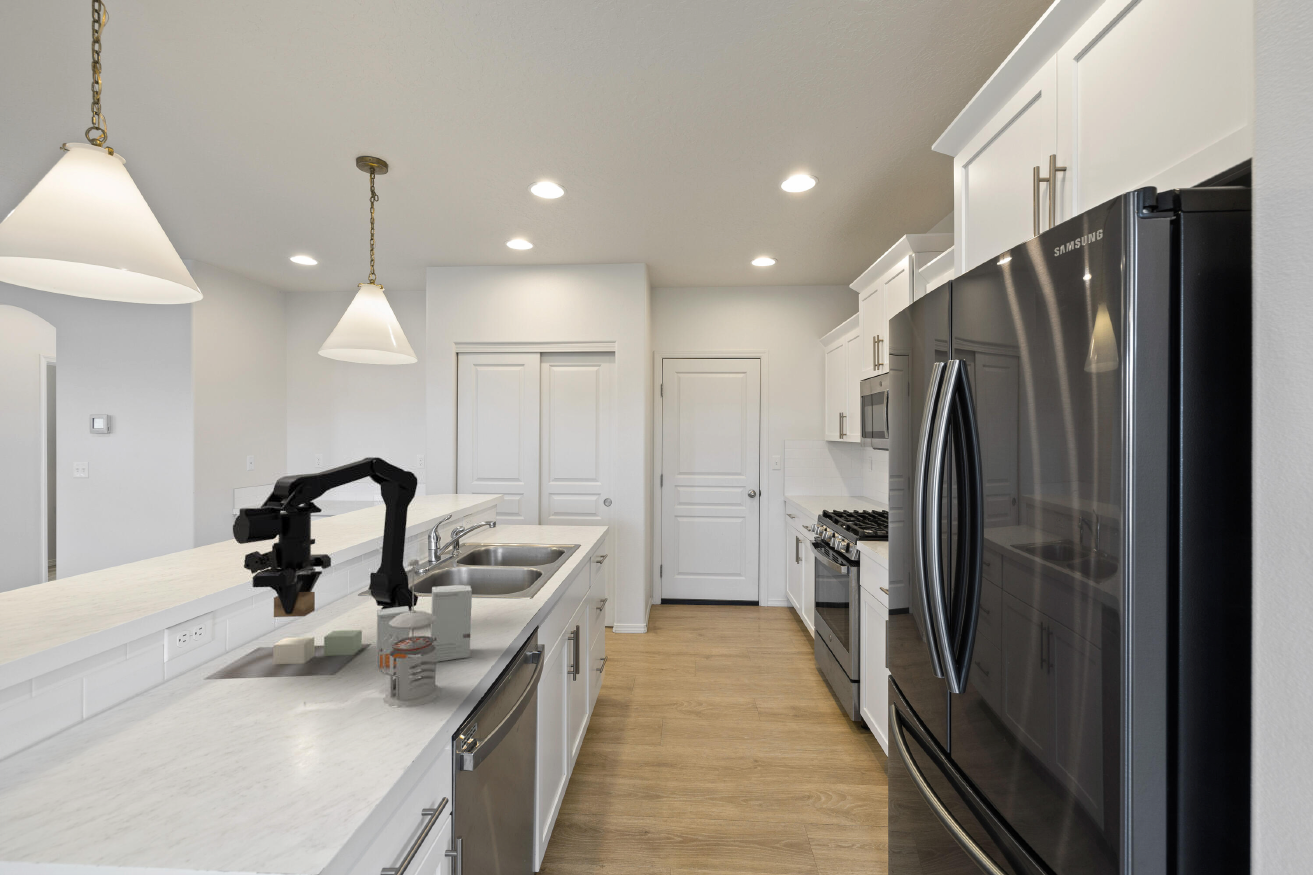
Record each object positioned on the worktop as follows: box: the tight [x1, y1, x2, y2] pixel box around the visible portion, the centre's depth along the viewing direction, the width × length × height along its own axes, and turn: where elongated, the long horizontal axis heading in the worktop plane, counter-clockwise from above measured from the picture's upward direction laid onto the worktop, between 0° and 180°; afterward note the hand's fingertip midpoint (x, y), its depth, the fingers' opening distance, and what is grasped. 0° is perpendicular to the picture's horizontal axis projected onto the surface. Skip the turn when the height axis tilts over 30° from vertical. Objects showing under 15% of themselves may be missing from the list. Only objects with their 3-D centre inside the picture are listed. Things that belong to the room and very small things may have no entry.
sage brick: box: [323, 629, 363, 656], centre depth 121 cm, size 6×4×4 cm, turn 95°
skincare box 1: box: [376, 606, 410, 669], centre depth 115 cm, size 6×4×12 cm
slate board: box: [204, 643, 372, 680], centre depth 117 cm, size 24×17×1 cm
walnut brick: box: [273, 591, 316, 618], centre depth 117 cm, size 6×4×4 cm, turn 95°
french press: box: [376, 558, 442, 708], centre depth 102 cm, size 10×12×25 cm
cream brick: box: [272, 636, 315, 664], centre depth 117 cm, size 6×4×4 cm, turn 95°
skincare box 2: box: [430, 584, 473, 663], centre depth 122 cm, size 8×6×15 cm
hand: (294, 610), depth 117 cm, fingers closed on walnut brick, 4 cm apart
